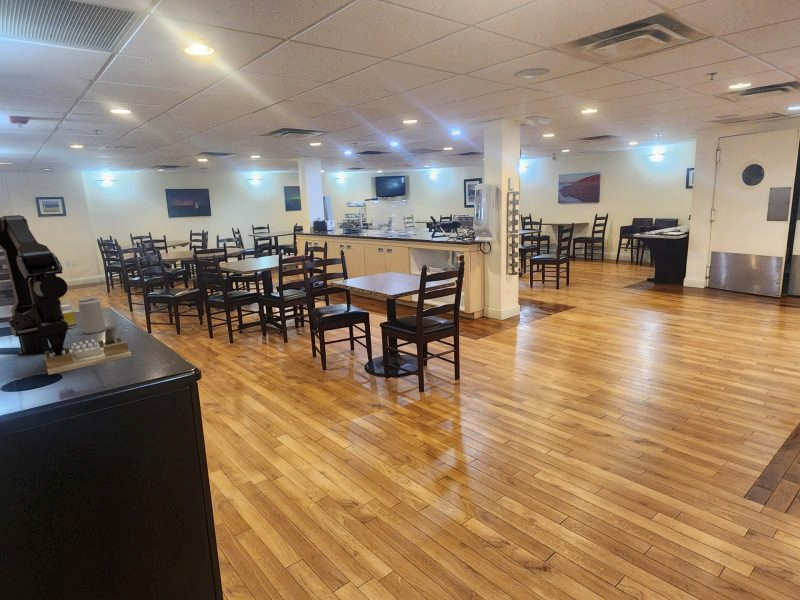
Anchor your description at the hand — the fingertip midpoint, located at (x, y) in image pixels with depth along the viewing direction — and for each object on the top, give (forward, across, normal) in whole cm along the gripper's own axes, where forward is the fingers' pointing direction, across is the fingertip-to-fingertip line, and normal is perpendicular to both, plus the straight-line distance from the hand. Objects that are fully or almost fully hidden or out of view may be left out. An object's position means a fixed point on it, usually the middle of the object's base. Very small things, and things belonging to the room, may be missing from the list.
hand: (58, 355), depth 127 cm
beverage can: (+1, -40, +12) cm, 42 cm away
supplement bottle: (0, -58, +6) cm, 58 cm away
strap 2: (-1, -5, +13) cm, 14 cm away
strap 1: (+1, -4, 0) cm, 4 cm away
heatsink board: (+3, -4, +6) cm, 8 cm away
